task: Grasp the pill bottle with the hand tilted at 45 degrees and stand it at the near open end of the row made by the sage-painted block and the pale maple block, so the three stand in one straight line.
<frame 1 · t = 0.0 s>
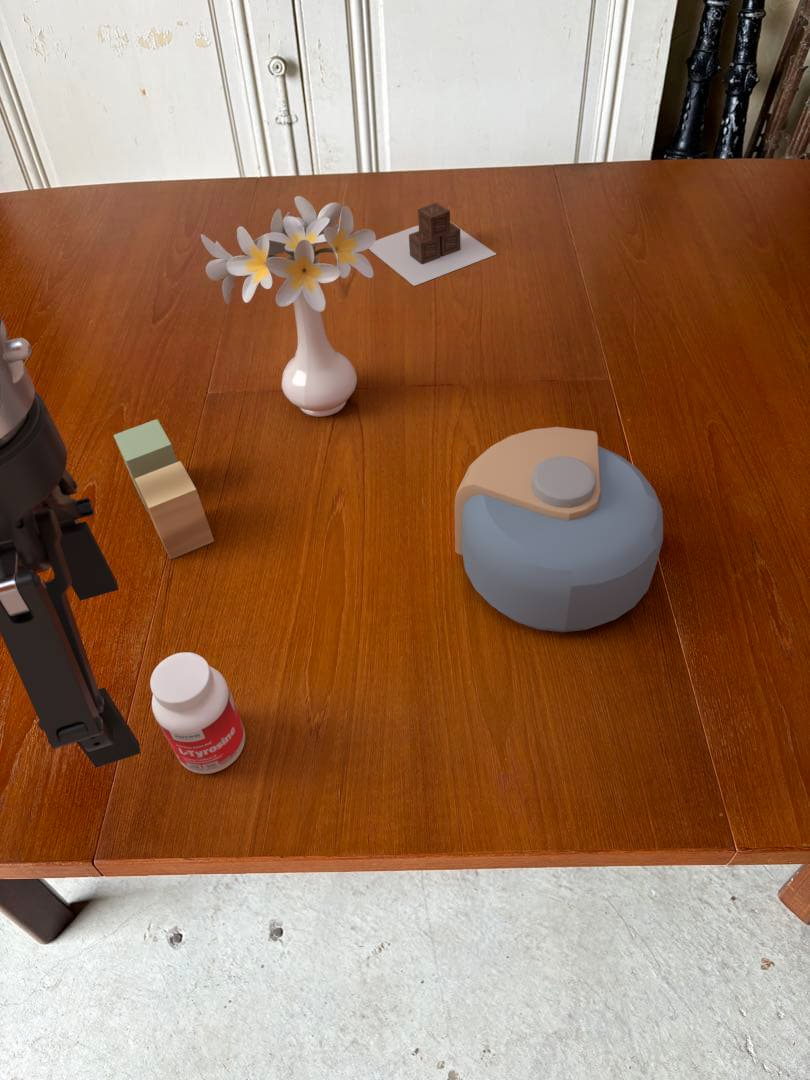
hand: (107, 667, 54), 20 cm above the table, tool pointing down, fingers open, 13 cm apart
maple block: (185, 536, 89), on the table
pill bottle: (212, 744, 72), on the table
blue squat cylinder: (552, 561, 84), on the table
sage block: (162, 491, 94), on the table
flower vase: (318, 406, 103), on the table
stack of crates: (429, 250, 127), on the table
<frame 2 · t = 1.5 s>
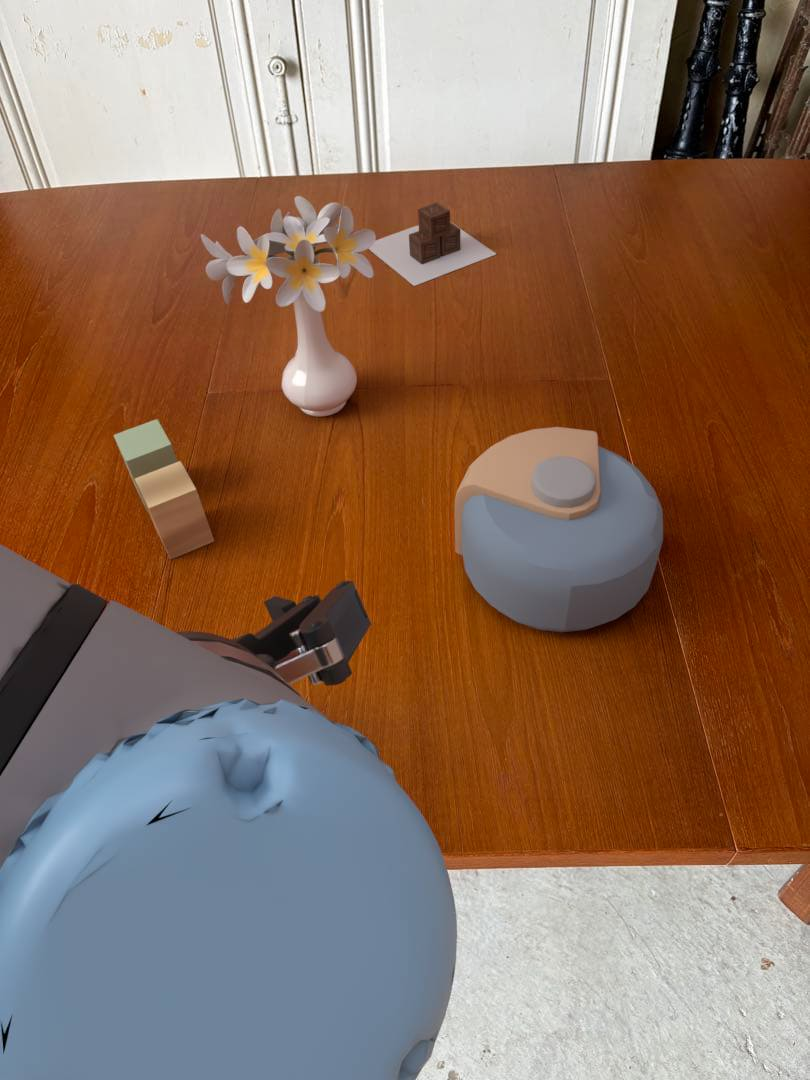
hand: (170, 670, 46), 26 cm above the table, tool tilted 45°, fingers open, 13 cm apart
nothing on the table moved.
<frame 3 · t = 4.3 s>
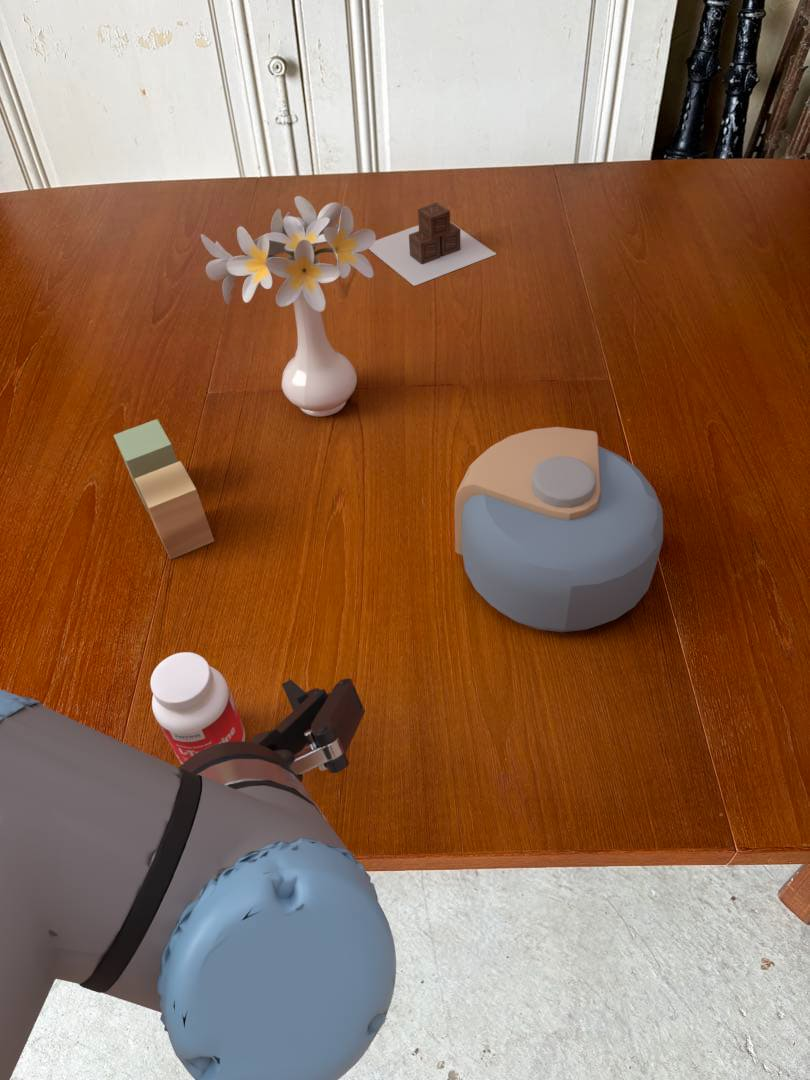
hand: (208, 739, 59), 11 cm above the table, tool tilted 45°, fingers open, 13 cm apart
nothing on the table moved.
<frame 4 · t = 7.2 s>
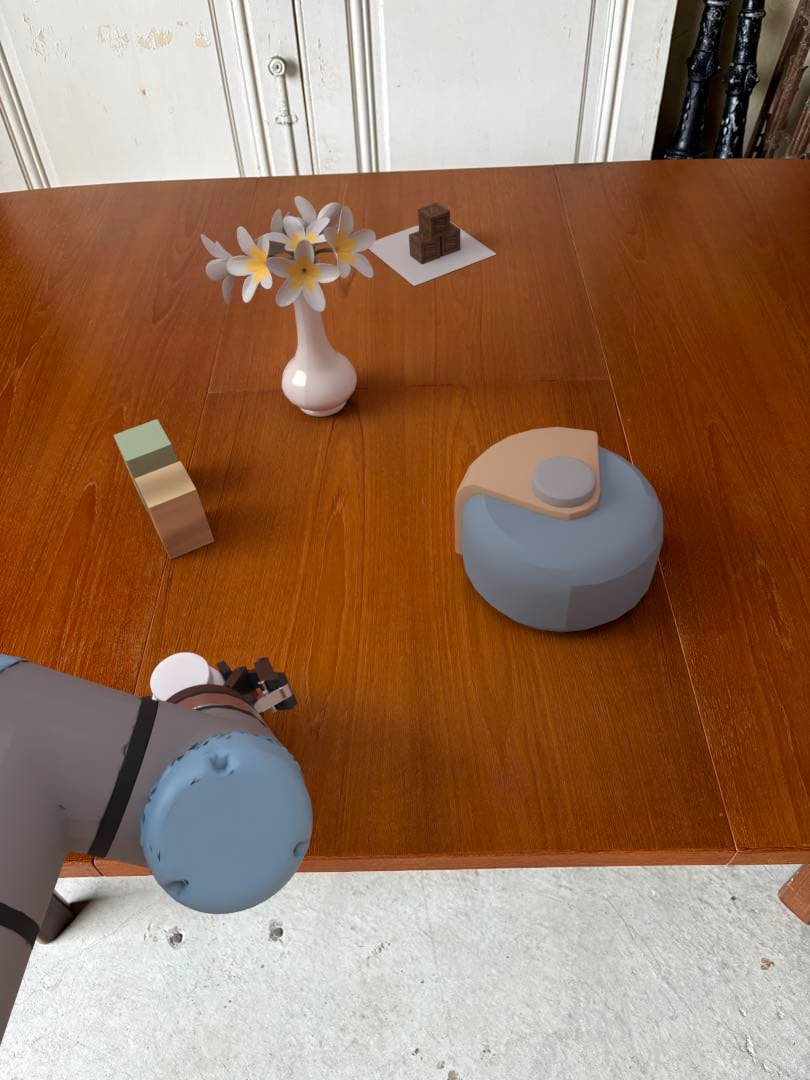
hand: (189, 693, 71), 3 cm above the table, tool tilted 45°, fingers closed on pill bottle, 6 cm apart
pill bottle: (212, 744, 72), on the table, touching gripper
everything else where it was.
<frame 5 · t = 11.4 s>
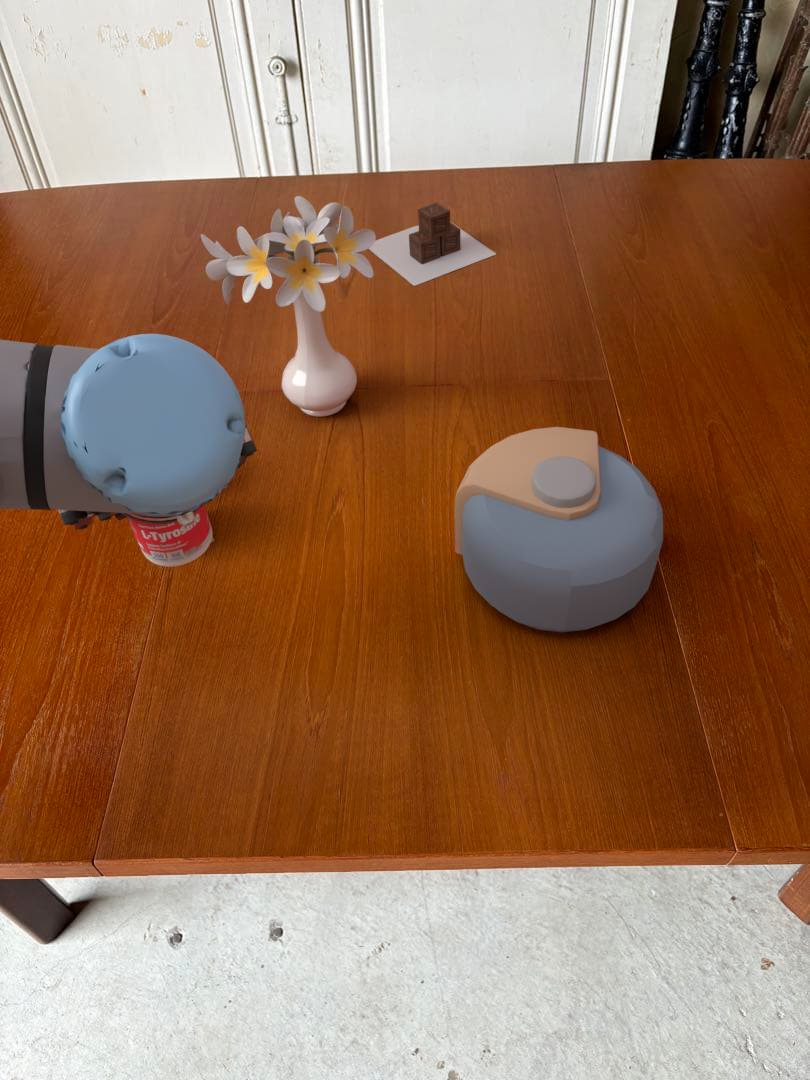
hand: (155, 489, 70), 16 cm above the table, tool tilted 45°, fingers closed on pill bottle, 6 cm apart
pill bottle: (179, 543, 71), point 13 cm above the table, touching gripper
everything else where it was.
when the fingers open (3 cm above the table, at t = 15.9 s): pill bottle stays where it is, on the table.
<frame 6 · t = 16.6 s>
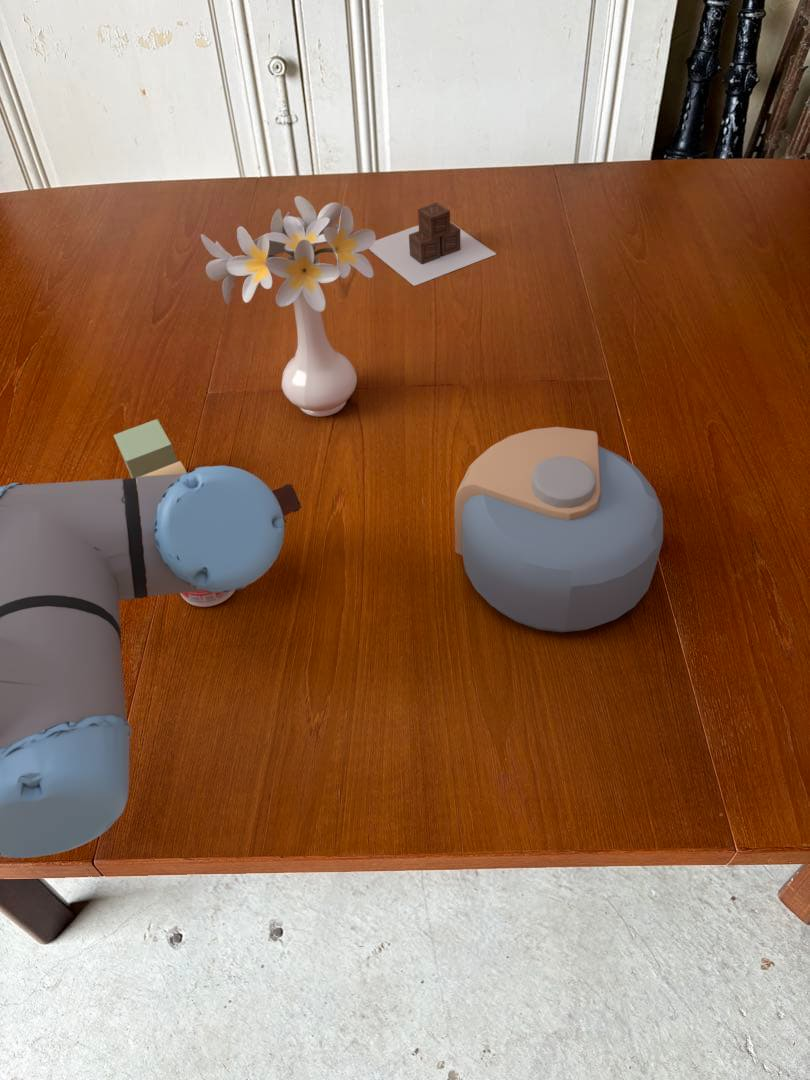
hand: (190, 539, 82), 5 cm above the table, tool tilted 45°, fingers open, 13 cm apart
pill bottle: (210, 586, 84), on the table
everything else where it was.
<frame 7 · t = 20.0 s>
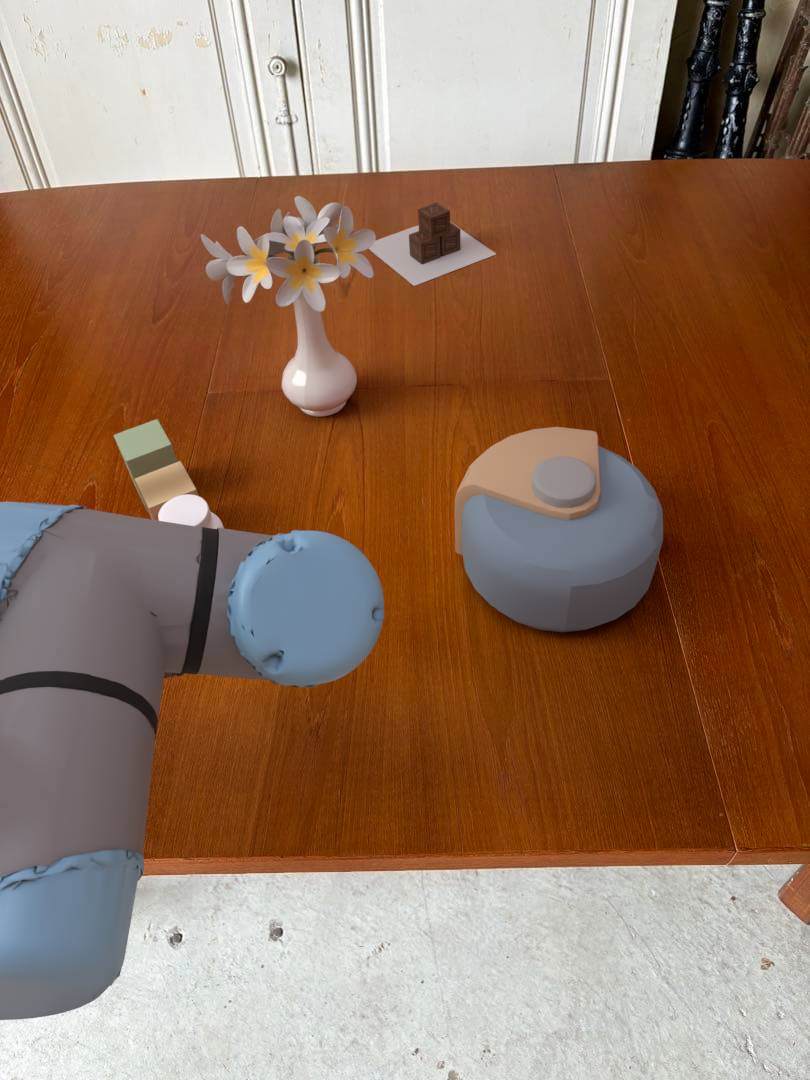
hand: (233, 623, 72), 7 cm above the table, tool tilted 40°, fingers open, 13 cm apart
nothing on the table moved.
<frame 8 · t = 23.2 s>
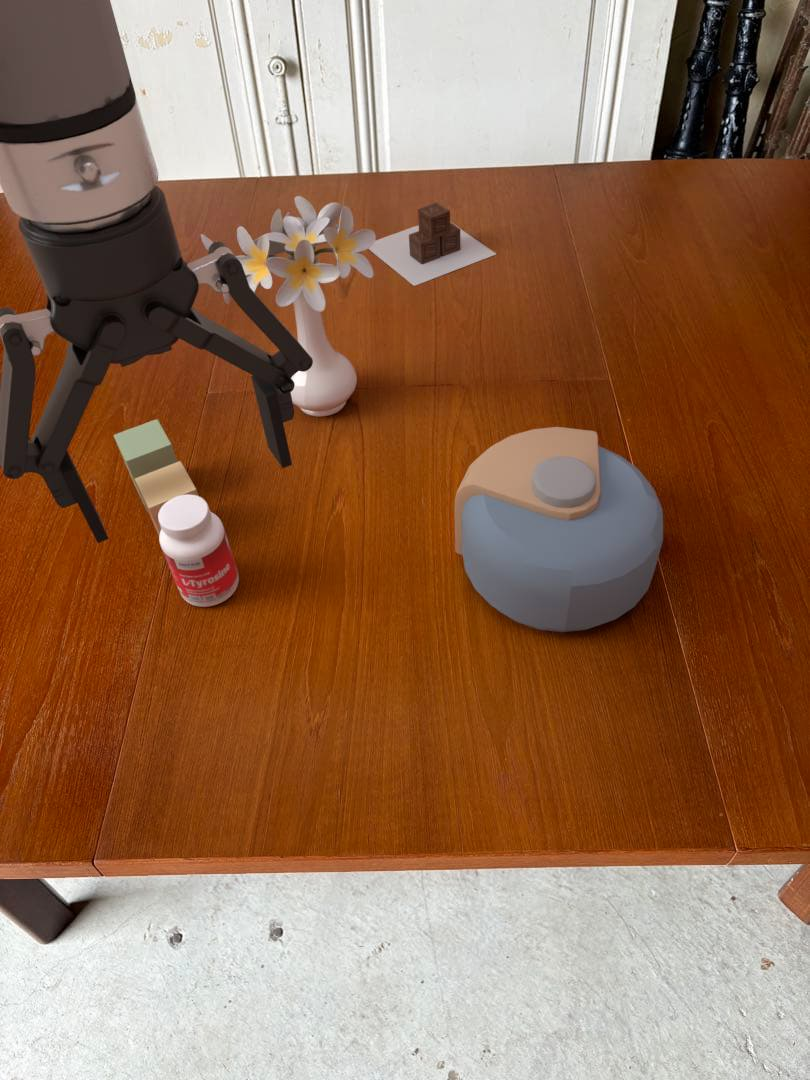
hand: (192, 491, 58), 25 cm above the table, tool pointing down, fingers open, 13 cm apart
nothing on the table moved.
at the end: pill bottle 0.0 cm from the target spot on the table beside the sage block, on the table; pill bottle tilted 0°; maple block moved 0.0 cm from its start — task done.
